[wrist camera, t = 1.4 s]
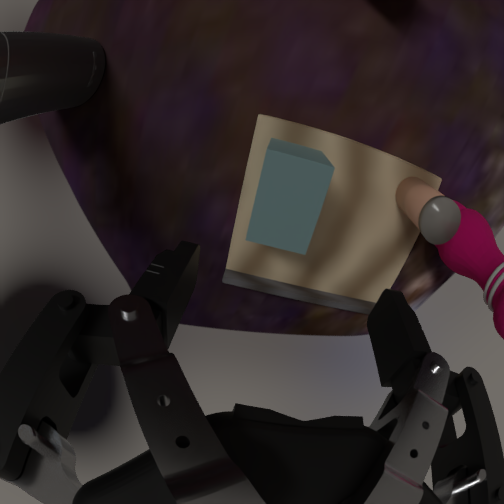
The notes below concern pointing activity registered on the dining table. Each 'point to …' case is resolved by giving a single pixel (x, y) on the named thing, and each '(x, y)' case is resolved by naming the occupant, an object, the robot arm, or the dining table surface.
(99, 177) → the dining table surface
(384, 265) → the shelf board
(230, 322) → the dining table surface
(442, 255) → the pepper mill
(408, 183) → the spice jar
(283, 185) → the tea box
